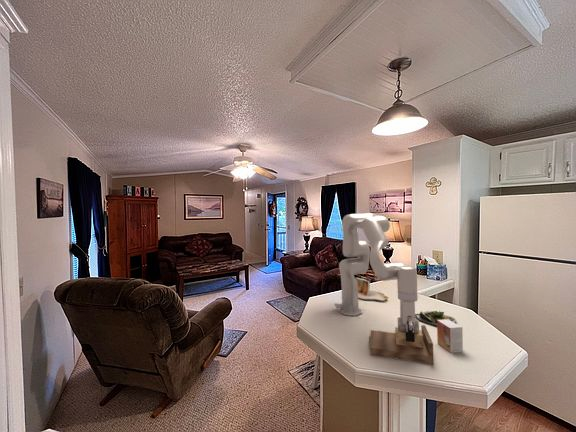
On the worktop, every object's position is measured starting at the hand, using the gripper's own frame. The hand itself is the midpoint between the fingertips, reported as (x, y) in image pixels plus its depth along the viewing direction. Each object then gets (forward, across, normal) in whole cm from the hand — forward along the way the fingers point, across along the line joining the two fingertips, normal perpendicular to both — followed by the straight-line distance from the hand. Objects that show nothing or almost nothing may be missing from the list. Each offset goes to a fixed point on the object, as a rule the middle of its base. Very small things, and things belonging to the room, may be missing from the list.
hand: (408, 335), depth 104 cm
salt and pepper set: (+3, 0, 0) cm, 3 cm away
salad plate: (+7, -35, +16) cm, 39 cm away
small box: (+6, -7, +17) cm, 19 cm away
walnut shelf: (+6, 0, -4) cm, 7 cm away
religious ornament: (+7, -65, -17) cm, 67 cm away
